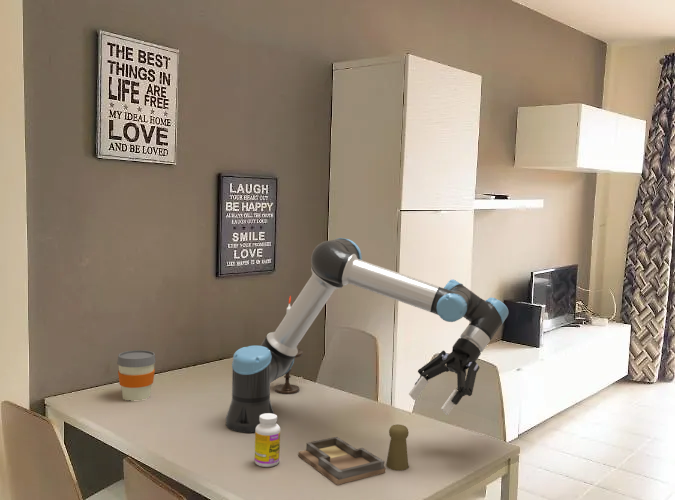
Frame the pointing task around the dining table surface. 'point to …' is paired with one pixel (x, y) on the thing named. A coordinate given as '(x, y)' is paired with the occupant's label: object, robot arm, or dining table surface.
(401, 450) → the olive tall rounded piece
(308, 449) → the keyhole board
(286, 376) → the candlestick
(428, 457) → the dining table surface
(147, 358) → the reusable coffee cup
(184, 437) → the dining table surface
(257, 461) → the supplement bottle
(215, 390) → the dining table surface
